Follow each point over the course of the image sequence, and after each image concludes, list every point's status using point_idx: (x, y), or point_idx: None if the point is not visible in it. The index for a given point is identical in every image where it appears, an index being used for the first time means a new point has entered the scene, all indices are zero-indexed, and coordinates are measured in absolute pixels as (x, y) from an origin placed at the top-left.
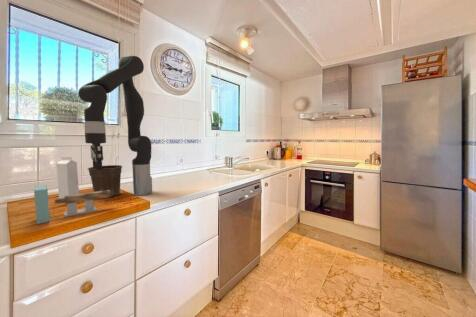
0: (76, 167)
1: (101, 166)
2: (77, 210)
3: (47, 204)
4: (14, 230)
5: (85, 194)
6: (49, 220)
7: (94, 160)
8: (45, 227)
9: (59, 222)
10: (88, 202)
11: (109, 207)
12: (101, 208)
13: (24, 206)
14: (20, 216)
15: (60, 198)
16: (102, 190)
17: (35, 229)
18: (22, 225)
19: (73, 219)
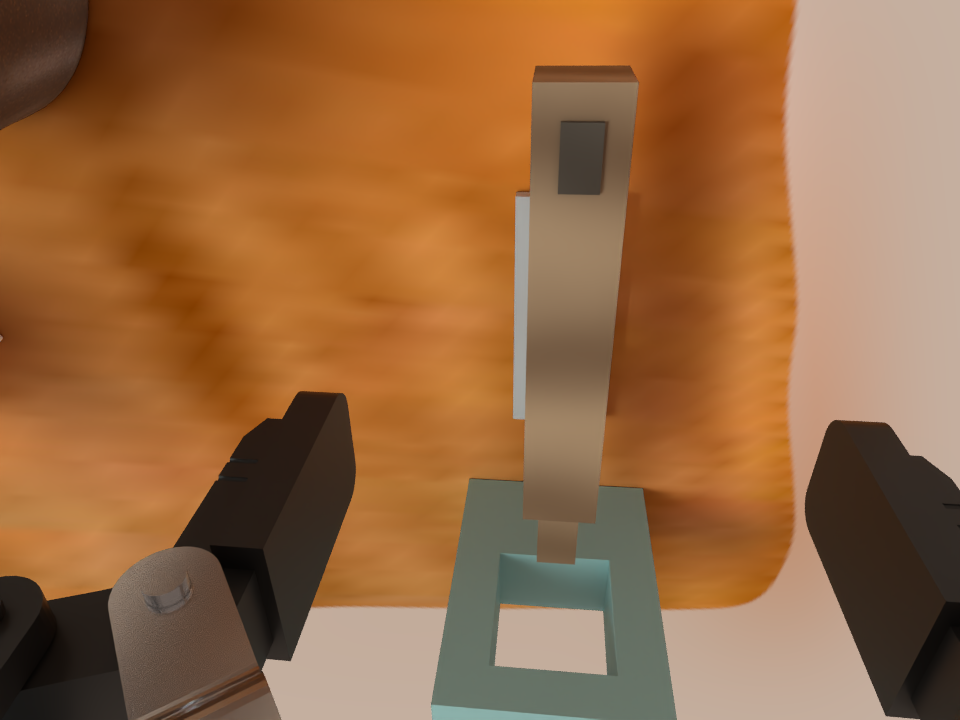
0: None
1: (918, 491)
2: (524, 339)
3: (657, 597)
4: (663, 606)
5: (608, 375)
6: (642, 494)
7: (284, 625)
8: (758, 511)
9: (720, 450)
10: None
11: (597, 61)
12: None
13: (107, 561)
14: (371, 582)
15: (543, 533)
16: (24, 61)
17: (747, 546)
18: None
19: (732, 379)
